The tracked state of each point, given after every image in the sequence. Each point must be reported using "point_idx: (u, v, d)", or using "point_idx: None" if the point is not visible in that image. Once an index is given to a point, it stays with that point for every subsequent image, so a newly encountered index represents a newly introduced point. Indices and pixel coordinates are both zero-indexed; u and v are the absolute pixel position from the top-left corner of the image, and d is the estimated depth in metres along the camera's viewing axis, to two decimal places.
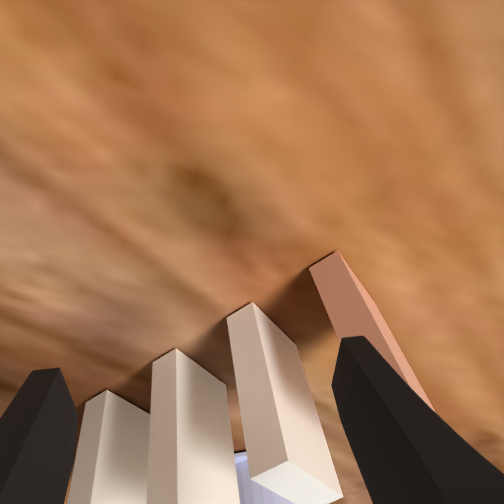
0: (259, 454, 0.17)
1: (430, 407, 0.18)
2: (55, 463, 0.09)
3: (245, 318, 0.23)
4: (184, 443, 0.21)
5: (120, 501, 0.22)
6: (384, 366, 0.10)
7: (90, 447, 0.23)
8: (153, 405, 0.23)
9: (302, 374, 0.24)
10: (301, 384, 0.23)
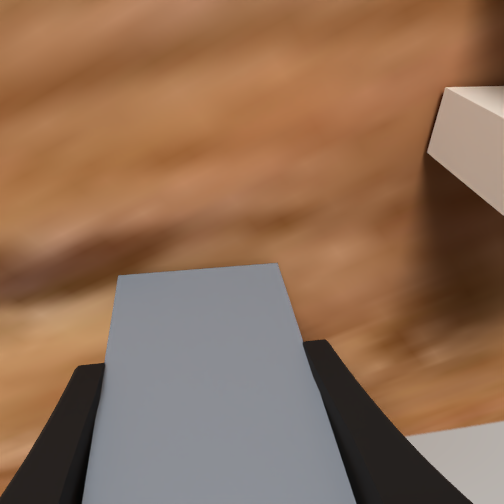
0: None
1: None
2: None
3: None
4: None
5: None
6: (342, 371, 0.10)
7: None
8: None
9: None
10: None
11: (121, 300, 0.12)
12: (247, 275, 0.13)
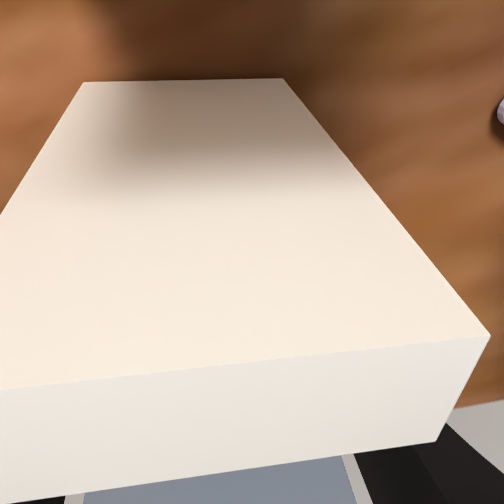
0: None
1: None
2: None
3: None
4: None
5: (158, 194, 0.06)
6: None
7: None
8: None
9: None
10: None
11: None
12: None
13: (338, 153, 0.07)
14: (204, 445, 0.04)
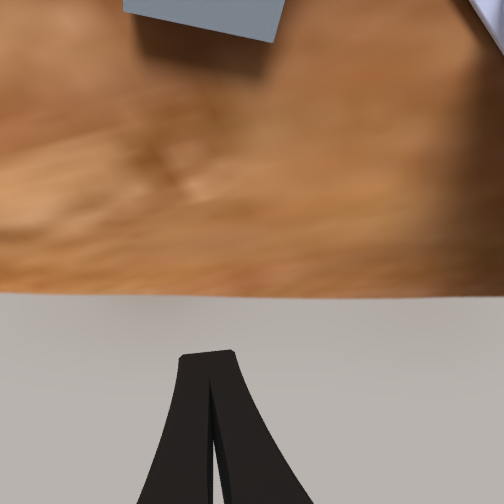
0: None
1: None
2: (211, 442, 0.10)
3: None
4: None
5: None
6: (236, 383, 0.09)
7: None
8: None
9: None
10: None
11: None
12: None
13: None
14: None
